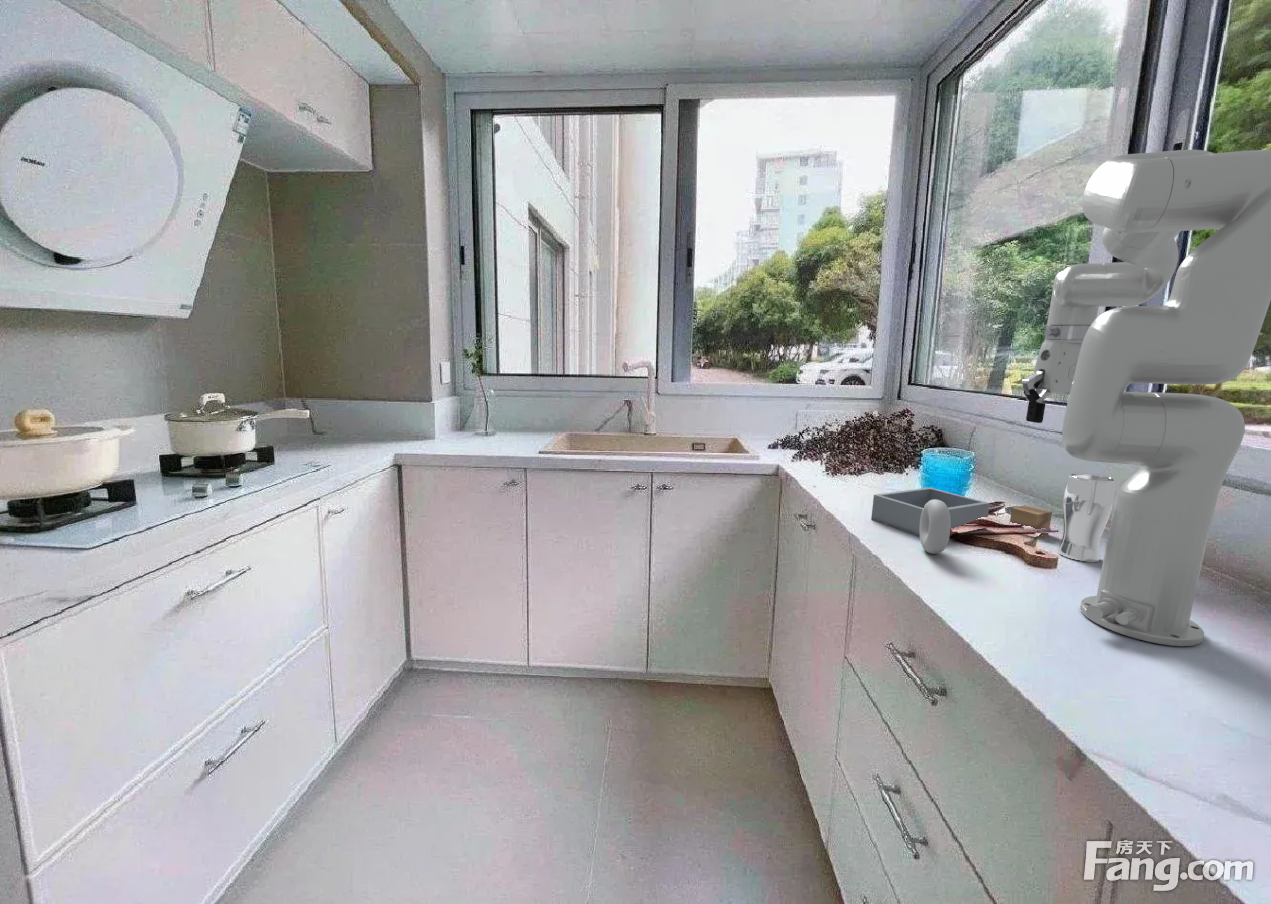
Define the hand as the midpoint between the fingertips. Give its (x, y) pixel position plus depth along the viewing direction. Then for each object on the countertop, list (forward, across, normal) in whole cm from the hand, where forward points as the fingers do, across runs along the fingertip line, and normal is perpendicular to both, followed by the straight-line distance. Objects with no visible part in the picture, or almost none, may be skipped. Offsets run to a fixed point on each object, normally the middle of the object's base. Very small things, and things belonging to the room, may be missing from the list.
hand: (1054, 421), depth 112 cm
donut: (+23, -32, -8) cm, 40 cm away
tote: (+23, -21, +7) cm, 32 cm away
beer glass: (+23, -6, -14) cm, 28 cm away
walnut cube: (+23, -3, -1) cm, 23 cm away
